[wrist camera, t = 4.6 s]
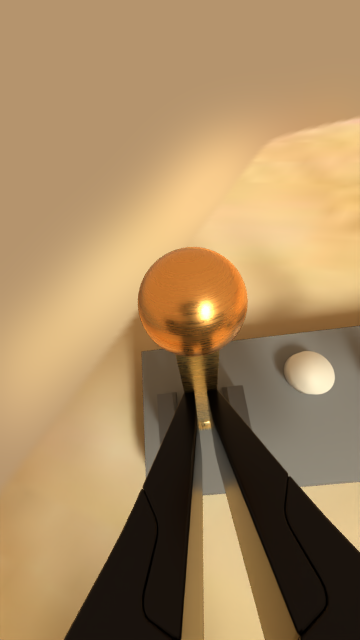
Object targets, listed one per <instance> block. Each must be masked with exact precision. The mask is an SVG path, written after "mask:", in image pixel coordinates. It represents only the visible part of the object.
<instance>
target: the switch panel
mask: <svg viewBox="0 0 360 640" xmlns="http://www.w3.org/2000/svg"><path fill="white" fill-rule="evenodd" d="M142 377H143V406H144V436H145V465H146V477H147V475H148V473H149V471H150V468H151V466H152V464H153V461H154V459H155V457H156V455H157V452H158V450H159V448H160V445H161V443H162V441H163V439H164V436H165V434H166V432H167V430H168V427H169V425H170V423H171V420H172V418H173V416H174V414H175V411H176V409H177V407H178V404H179V402H180V400H181V398H182V395H183V393H184V389H183V385H182V381H181V376H180V372H179V368H178V364H177V359H176V355H175V354H173V353H171V352H169V351H167V350H165V349H159V350H151V351H143V352H142ZM217 389H218V390H219V392H220V393H221V394H222V395H223V396H224V398H225V399H226V400H227V401H228V402H229V403H230V405H231V406H232V407H233V408H234V409H235V411H236V412H237V413H238V414H239V415H240V417H241V418H242V419H243V420H244V421H245V422H246V424H247V425H248V426H249V427H250V428H251V430H252V431H253V432H254V433H255V434H256V436H257V437H258V438H259V439H260V440H261V442H262V443H263V444H264V445H265V446H266V447H267V449H268V450H269V451H270V452H271V453H272V455H273V456H274V457H275V458H276V459H277V461H278V462H279V463H280V464H281V465H282V467H283V468H284V469H285V470H286V471H287V472H288V476H291V477H292V478H293V479H294V481H295V482H296V483H297V484H298V485H299V487H306V486H317V485H329V484H340V483H352V482H360V326H354V327H345V328H337V329H328V330H320V331H311V332H303V333H295V334H286V335H278V336H269V337H261V338H252V339H244V340H235V341H231V342H230V343H228V344H227V345H226V346H225V347H223V348H222V349H220V350H219V366H218V384H217ZM199 432H200V440H201V449H202V487H203V495H214V494H225V493H226V492H225V489H224V485H223V481H222V477H221V474H220V470H219V466H218V462H217V458H216V454H215V449H214V443H213V436H212V430H211V429H210V430H200V431H199Z"/></svg>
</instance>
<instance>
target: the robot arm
mask: <svg viewBox="0 0 360 640" xmlns="http://www.w3.org/2000/svg"><path fill="white" fill-rule="evenodd" d="M207 402H208V411H209V417H210V424H211V430H212V436H213V443H214V449H215V454H216V458H217V462H218V466H219V470H220V474H221V477H222V481H223V485H224V489H225V492H226V496H227V500H228V503H229V507H230V511H231V515H232V518H233V522H234V526H235V530H236V533H237V537H238V541H239V545H240V548H241V552H242V556H243V559H244V563H245V567H246V571H247V574H248V578H249V582H250V586H251V589H252V593H253V597H254V601H255V604H256V608H257V612H258V615H259V619H260V623H261V627H262V630H263V634H264V638H265V640H360V552H359V551H358V550H357V549H356V548H355V547H354V546H353V545H352V544H351V543H350V542H349V541H348V539H347V538H346V537H345V536H344V535H343V534H342V533H341V532H340V531H339V530H338V529H337V528H336V527H335V526H334V525H333V524H332V523H331V522H330V520H329V519H328V518H327V517H326V516H325V515H324V514H323V513H322V512H321V511H320V510H319V508H318V507H317V506H316V505H315V504H314V503H313V502H312V500H311V499H310V498H309V497H308V496H307V495H306V494H305V492H304V491H303V490H302V489H301V488H300V487H299V485H298V484H297V483H296V482H295V481H294V479H293V478H292V477H291V476H288V472H287V471H286V470H285V469H284V468H283V467H282V465H281V464H280V463H279V462H278V461H277V459H276V458H275V457H274V456H273V455H272V453H271V452H270V451H269V450H268V449H267V447H266V446H265V445H264V444H263V443H262V442H261V440H260V439H259V438H258V437H257V436H256V434H255V433H254V432H253V431H252V430H251V428H250V427H249V426H248V425H247V424H246V422H245V421H244V420H243V419H242V418H241V417H240V415H239V414H238V413H237V412H236V411H235V409H234V408H233V407H232V406H231V405H230V403H229V402H228V401H227V400H226V399H225V398H224V396H223V395H222V394H221V393H220V392H219V390H218V389H217V390H208V391H207ZM64 640H204V602H203V487H202V449H201V440H200V432H199V423H198V415H197V406H196V399H195V393H194V392H189V393H183V395H182V398H181V400H180V402H179V404H178V407H177V409H176V411H175V414H174V416H173V418H172V420H171V423H170V425H169V427H168V430H167V432H166V434H165V436H164V439H163V441H162V443H161V445H160V448H159V450H158V452H157V455H156V457H155V459H154V461H153V464H152V466H151V468H150V471H149V473H148V475H147V477H146V480H145V482H144V484H143V489H141V491H140V493H139V495H138V498H137V500H136V502H135V504H134V507H133V509H132V511H131V513H130V515H129V517H128V519H127V522H126V524H125V526H124V528H123V530H122V532H121V534H120V536H119V538H118V540H117V542H116V544H115V546H114V548H113V549H112V551H111V553H110V555H109V557H108V559H107V561H106V563H105V565H104V567H103V568H102V570H101V572H100V574H99V576H98V578H97V579H96V581H95V583H94V585H93V587H92V589H91V590H90V592H89V594H88V596H87V598H86V600H85V602H84V603H83V605H82V607H81V609H80V611H79V613H78V614H77V616H76V618H75V620H74V622H73V624H72V625H71V627H70V629H69V631H68V633H67V635H66V636H65V638H64Z"/></svg>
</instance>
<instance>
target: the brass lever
mask: <svg viewBox="0 0 360 640" xmlns="http://www.w3.org/2000/svg"><path fill="white" fill-rule="evenodd" d="M247 302H248V300H247V291H246V287H245V284H244V281H243V279H242V277H241V275H240V273H239V272H238V270H237V269H236V267H235V266H234V265H233V264H232V263H231V262H230V261H229V260H228V259H226V258H225V257H224V256H222V255H220V254H219V253H217V252H215V251H212V250H209V249H205V248H200V247H187V248H181V249H177V250H174V251H171V252H169V253H167V254H166V255H164V256H162V257H161V258H159V259H158V260H157V261H156V262H155V263H154V264H153V265H152V266H151V267H150V269H149V270H148V271H147V273H146V274H145V276H144V278H143V281H142V283H141V286H140V290H139V294H138V310H139V315H140V319H141V322H142V324H143V326H144V328H145V330H146V332H147V333H148V335H149V336H150V337H151V338H152V340H153V341H154V342H156V343H157V344H158V345H159V346H160V347H162V348H163V349H165V350H167V351H169V352H171V353H173V354H175V355H176V359H177V364H178V368H179V372H180V376H181V381H182V385H183V389H184V393H189V392H194V393H195V399H196V406H197V415H198V423H199V431H200V430H210V429H211V424H210V417H209V411H208V402H207V391H208V390H217V384H218V366H219V350H220V349H222V348H223V347H225V346H226V345H227V344H228V343H230V342H231V341H232V340H233V338H234V337H235V336H236V335H237V333H238V332H239V331H240V329H241V327H242V325H243V322H244V320H245V316H246V312H247Z"/></svg>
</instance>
